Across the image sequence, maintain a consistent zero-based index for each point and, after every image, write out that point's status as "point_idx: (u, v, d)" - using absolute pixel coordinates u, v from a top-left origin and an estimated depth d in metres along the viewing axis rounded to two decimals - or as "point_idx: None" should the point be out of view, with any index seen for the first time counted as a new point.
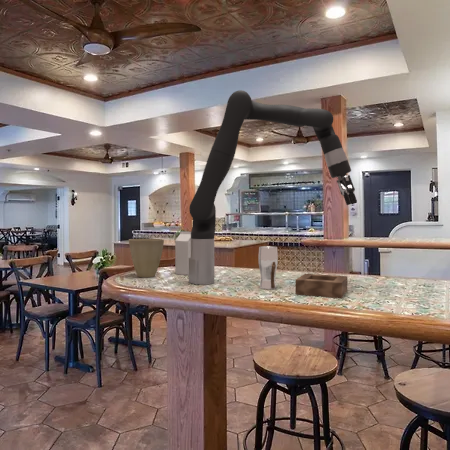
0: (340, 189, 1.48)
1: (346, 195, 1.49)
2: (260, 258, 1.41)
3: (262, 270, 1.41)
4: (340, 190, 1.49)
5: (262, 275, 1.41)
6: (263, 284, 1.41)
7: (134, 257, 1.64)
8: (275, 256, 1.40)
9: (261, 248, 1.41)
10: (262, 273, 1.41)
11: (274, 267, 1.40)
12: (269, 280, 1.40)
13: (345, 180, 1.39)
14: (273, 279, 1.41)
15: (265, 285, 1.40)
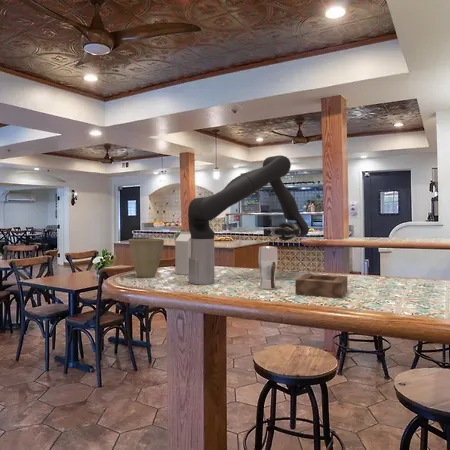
0: None
1: (269, 231, 1.58)
2: (260, 258, 1.41)
3: (262, 270, 1.41)
4: None
5: (262, 275, 1.41)
6: (263, 284, 1.41)
7: (134, 257, 1.64)
8: (275, 256, 1.40)
9: (261, 248, 1.41)
10: (262, 273, 1.41)
11: (274, 267, 1.40)
12: (269, 280, 1.40)
13: (299, 230, 1.58)
14: (273, 279, 1.41)
15: (265, 285, 1.40)
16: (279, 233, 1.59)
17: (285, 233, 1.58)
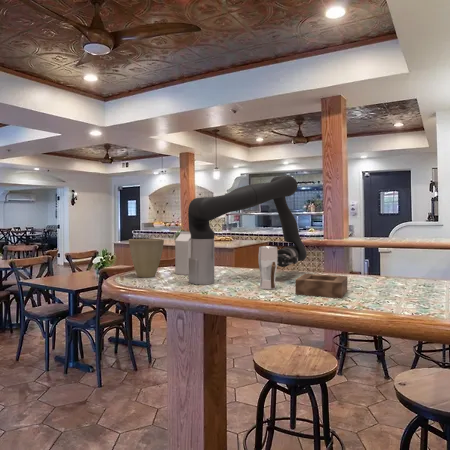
0: None
1: None
2: (260, 258, 1.41)
3: (262, 270, 1.41)
4: None
5: (262, 275, 1.41)
6: (263, 284, 1.41)
7: (134, 257, 1.64)
8: (275, 256, 1.40)
9: (261, 248, 1.41)
10: (262, 273, 1.41)
11: (274, 267, 1.40)
12: (269, 280, 1.40)
13: (297, 257, 1.55)
14: (273, 279, 1.41)
15: (265, 285, 1.40)
16: None
17: (282, 260, 1.55)
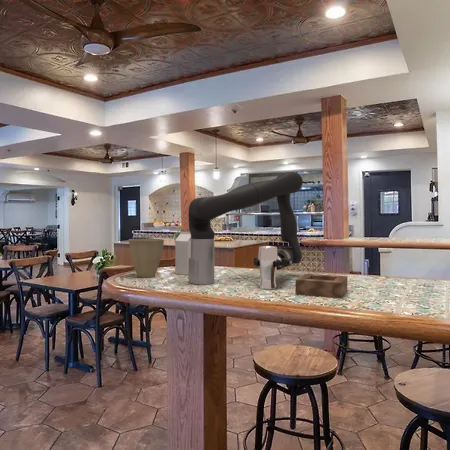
0: None
1: None
2: (260, 258, 1.41)
3: (262, 270, 1.41)
4: None
5: (261, 275, 1.41)
6: (263, 284, 1.41)
7: (134, 257, 1.64)
8: (275, 256, 1.40)
9: (261, 248, 1.41)
10: (262, 273, 1.41)
11: (274, 267, 1.40)
12: (269, 280, 1.40)
13: (290, 260, 1.46)
14: (273, 279, 1.41)
15: (265, 285, 1.40)
16: None
17: None
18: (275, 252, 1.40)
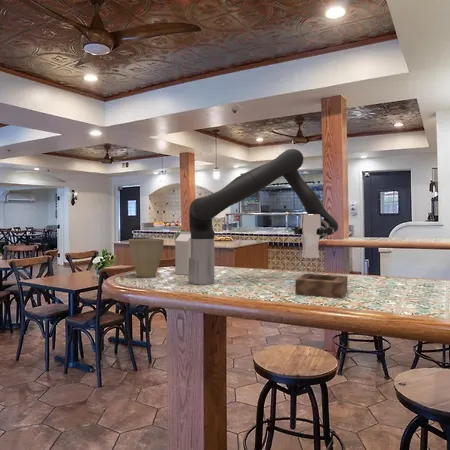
0: None
1: None
2: (303, 226, 1.35)
3: (305, 238, 1.35)
4: None
5: (304, 244, 1.36)
6: (306, 253, 1.35)
7: (134, 257, 1.64)
8: (319, 223, 1.34)
9: (304, 215, 1.35)
10: (305, 241, 1.35)
11: (318, 235, 1.34)
12: (313, 249, 1.34)
13: (333, 228, 1.40)
14: (316, 247, 1.35)
15: (308, 254, 1.35)
16: None
17: None
18: (319, 219, 1.34)
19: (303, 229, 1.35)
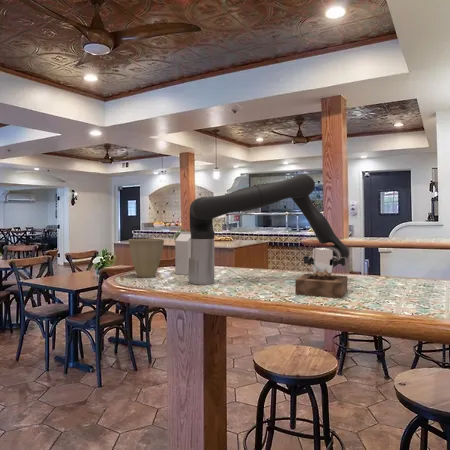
0: None
1: (311, 260, 1.38)
2: (315, 261, 1.33)
3: (317, 273, 1.33)
4: None
5: (316, 279, 1.34)
6: None
7: (134, 257, 1.64)
8: (331, 259, 1.32)
9: (316, 250, 1.33)
10: (317, 276, 1.33)
11: (330, 270, 1.33)
12: None
13: (345, 258, 1.39)
14: None
15: None
16: None
17: None
18: (331, 254, 1.33)
19: (315, 264, 1.33)
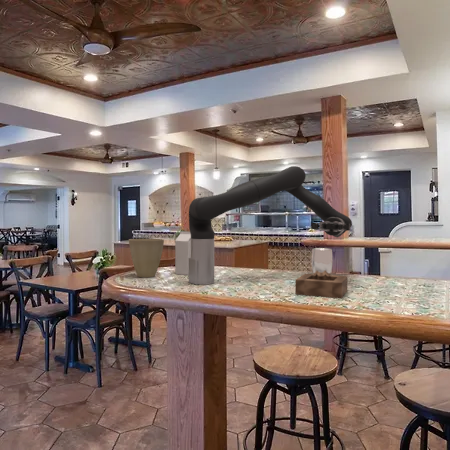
0: None
1: (318, 225, 1.50)
2: (314, 261, 1.33)
3: (317, 273, 1.33)
4: None
5: (316, 279, 1.34)
6: None
7: (134, 257, 1.64)
8: (330, 258, 1.33)
9: (315, 250, 1.33)
10: (316, 276, 1.33)
11: (329, 270, 1.33)
12: None
13: None
14: None
15: None
16: (328, 227, 1.51)
17: (334, 227, 1.50)
18: (330, 254, 1.33)
19: (315, 264, 1.33)
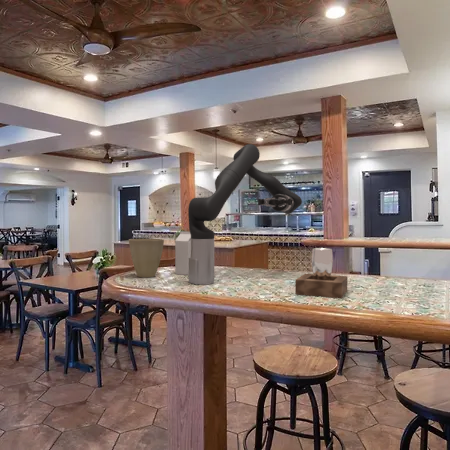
0: (269, 198, 1.66)
1: (264, 201, 1.64)
2: (314, 261, 1.33)
3: (317, 273, 1.33)
4: (267, 198, 1.66)
5: (316, 279, 1.34)
6: None
7: (134, 257, 1.64)
8: (331, 259, 1.33)
9: (316, 250, 1.33)
10: (317, 277, 1.33)
11: (329, 270, 1.33)
12: None
13: (292, 200, 1.64)
14: None
15: None
16: (273, 203, 1.65)
17: (279, 203, 1.64)
18: (331, 254, 1.33)
19: (315, 264, 1.33)
